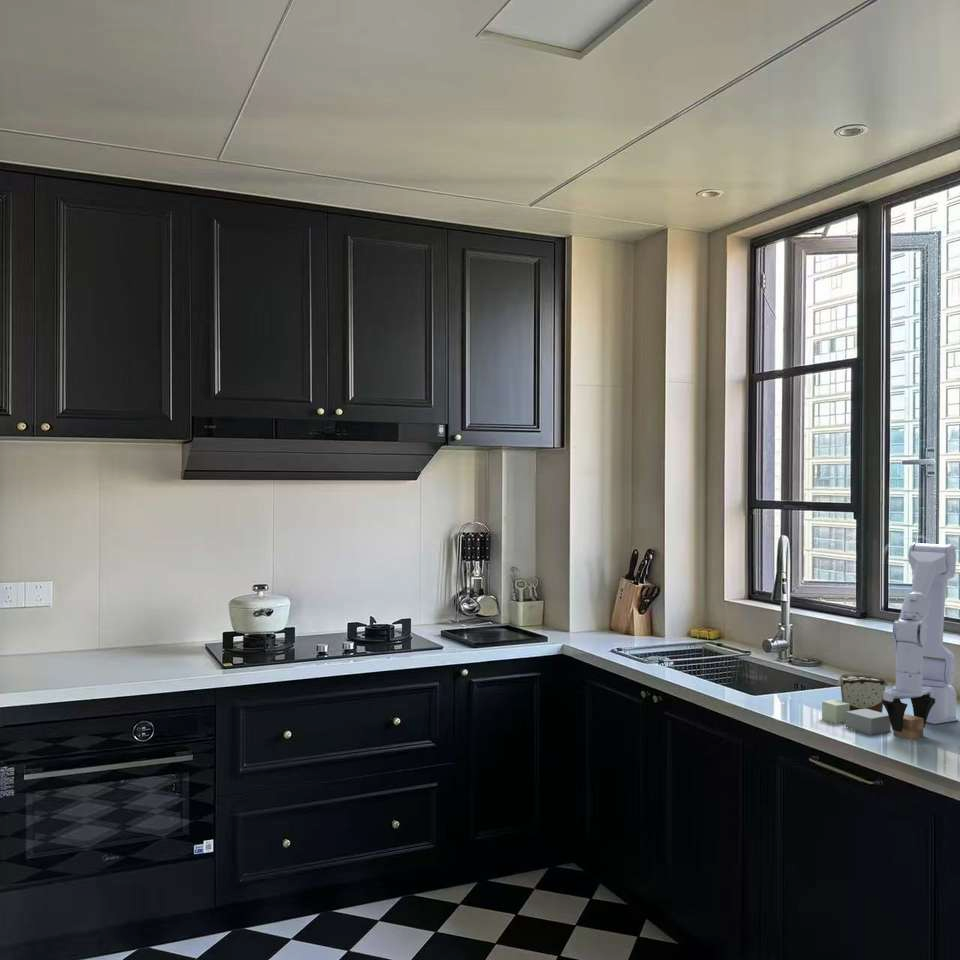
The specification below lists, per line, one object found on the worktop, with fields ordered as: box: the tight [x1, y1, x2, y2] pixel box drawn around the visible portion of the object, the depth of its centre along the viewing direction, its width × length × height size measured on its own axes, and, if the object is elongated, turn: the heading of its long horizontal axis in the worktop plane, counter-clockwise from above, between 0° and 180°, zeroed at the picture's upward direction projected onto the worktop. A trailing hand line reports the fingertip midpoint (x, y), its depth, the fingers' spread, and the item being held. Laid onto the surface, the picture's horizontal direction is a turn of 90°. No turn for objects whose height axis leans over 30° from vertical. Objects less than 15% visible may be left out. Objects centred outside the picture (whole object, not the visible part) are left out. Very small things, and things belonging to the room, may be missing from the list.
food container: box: [837, 672, 889, 713], centre depth 232 cm, size 12×6×10 cm, turn 92°
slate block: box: [845, 708, 892, 735], centre depth 218 cm, size 7×7×4 cm
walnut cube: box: [892, 713, 924, 740], centre depth 213 cm, size 4×4×4 cm
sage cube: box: [821, 699, 850, 724], centre depth 226 cm, size 4×4×4 cm
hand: (908, 729), depth 213 cm, fingers open, 7 cm apart
